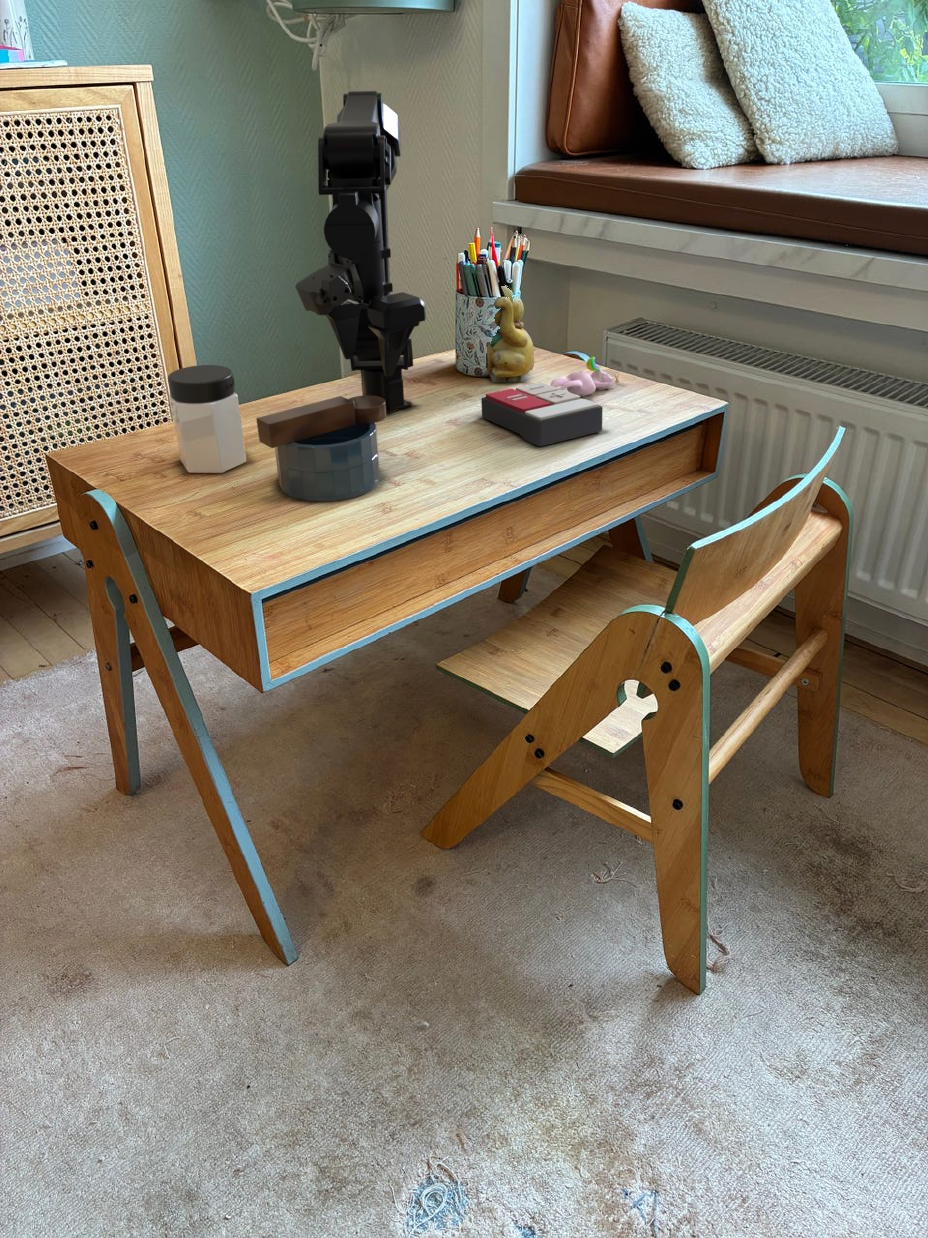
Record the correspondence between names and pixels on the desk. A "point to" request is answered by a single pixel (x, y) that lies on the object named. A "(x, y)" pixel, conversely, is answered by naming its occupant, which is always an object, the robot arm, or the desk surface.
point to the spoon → (319, 419)
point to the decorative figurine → (509, 342)
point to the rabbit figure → (586, 380)
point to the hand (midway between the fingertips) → (368, 366)
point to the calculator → (542, 413)
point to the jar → (207, 418)
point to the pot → (330, 464)
